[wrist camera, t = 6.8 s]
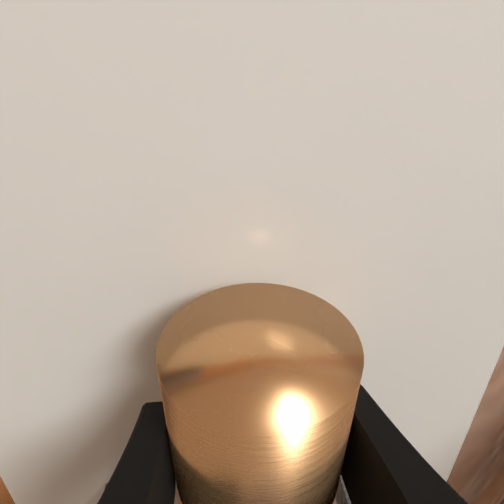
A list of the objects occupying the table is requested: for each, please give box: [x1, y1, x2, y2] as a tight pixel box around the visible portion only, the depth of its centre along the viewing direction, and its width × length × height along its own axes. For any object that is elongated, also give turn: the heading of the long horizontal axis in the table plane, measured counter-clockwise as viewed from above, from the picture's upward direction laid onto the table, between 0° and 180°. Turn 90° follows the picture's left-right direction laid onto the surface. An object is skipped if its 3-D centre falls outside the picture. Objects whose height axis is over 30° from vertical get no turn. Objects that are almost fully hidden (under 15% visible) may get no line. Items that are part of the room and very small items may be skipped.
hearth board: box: [0, 0, 504, 504], centre depth 13 cm, size 18×28×1 cm, turn 0°
